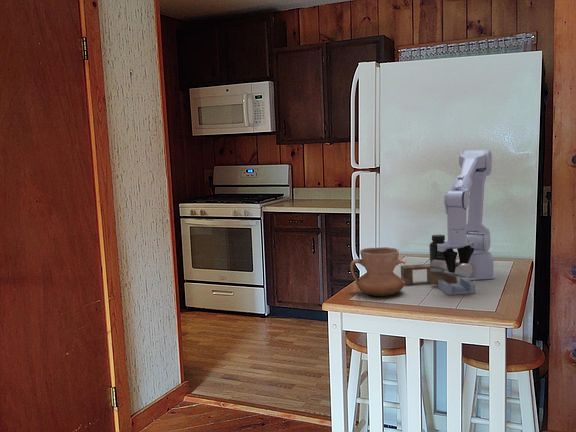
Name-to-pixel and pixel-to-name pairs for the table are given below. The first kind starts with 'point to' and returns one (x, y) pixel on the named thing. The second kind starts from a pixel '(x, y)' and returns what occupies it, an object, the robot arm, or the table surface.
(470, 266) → the axle
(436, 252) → the supplement bottle
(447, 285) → the cradle
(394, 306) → the table surface
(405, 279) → the beam
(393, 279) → the ceramic jug
